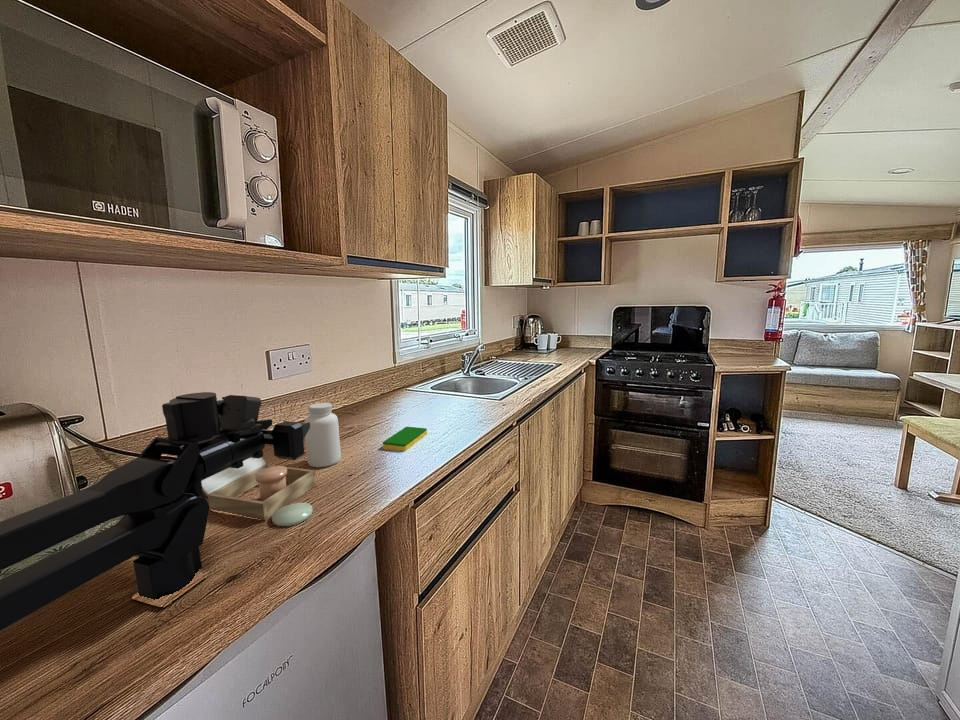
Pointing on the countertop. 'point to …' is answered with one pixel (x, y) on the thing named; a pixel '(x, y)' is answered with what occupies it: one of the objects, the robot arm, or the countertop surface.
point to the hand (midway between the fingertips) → (290, 423)
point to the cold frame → (241, 479)
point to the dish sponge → (404, 438)
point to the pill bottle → (322, 436)
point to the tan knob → (271, 481)
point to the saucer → (292, 514)
